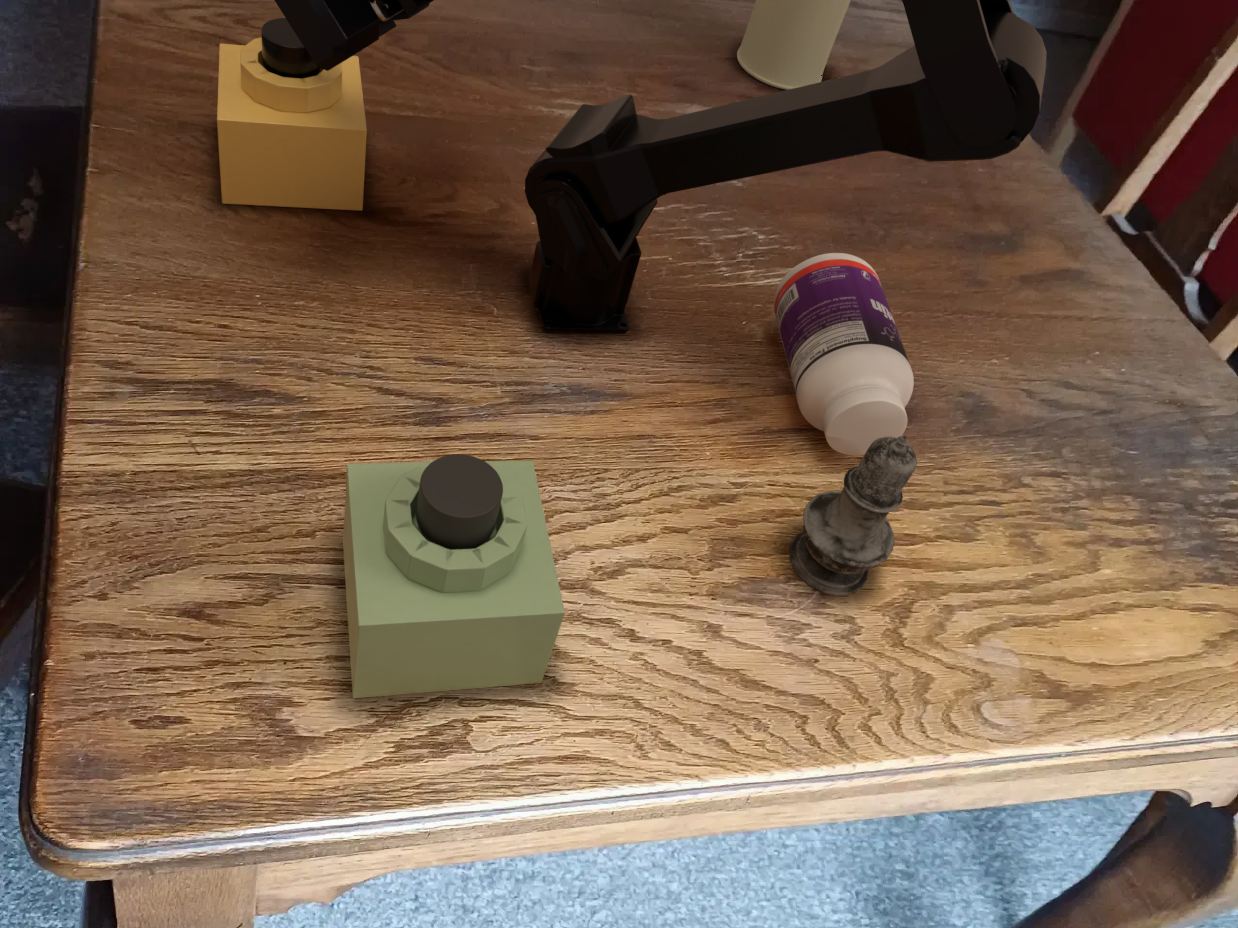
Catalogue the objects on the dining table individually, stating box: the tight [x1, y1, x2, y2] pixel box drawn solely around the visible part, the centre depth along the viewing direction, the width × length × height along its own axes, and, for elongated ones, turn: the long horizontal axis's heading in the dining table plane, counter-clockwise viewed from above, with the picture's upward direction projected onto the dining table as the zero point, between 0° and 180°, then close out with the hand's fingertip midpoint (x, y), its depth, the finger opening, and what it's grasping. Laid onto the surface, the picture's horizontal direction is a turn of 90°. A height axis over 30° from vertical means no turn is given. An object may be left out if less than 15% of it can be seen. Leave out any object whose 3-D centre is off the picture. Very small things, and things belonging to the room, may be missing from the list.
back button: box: [260, 17, 321, 79], centre depth 76 cm, size 4×4×3 cm
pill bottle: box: [773, 252, 915, 457], centre depth 77 cm, size 8×8×14 cm
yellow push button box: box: [216, 36, 368, 212], centre depth 80 cm, size 10×10×9 cm
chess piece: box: [788, 435, 918, 597], centre depth 64 cm, size 6×6×12 cm
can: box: [736, 0, 852, 91], centre depth 108 cm, size 9×9×12 cm
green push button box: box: [342, 459, 566, 699], centre depth 57 cm, size 10×10×9 cm
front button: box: [416, 453, 503, 549], centre depth 53 cm, size 4×4×2 cm
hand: (311, 21), depth 73 cm, fingers closed
